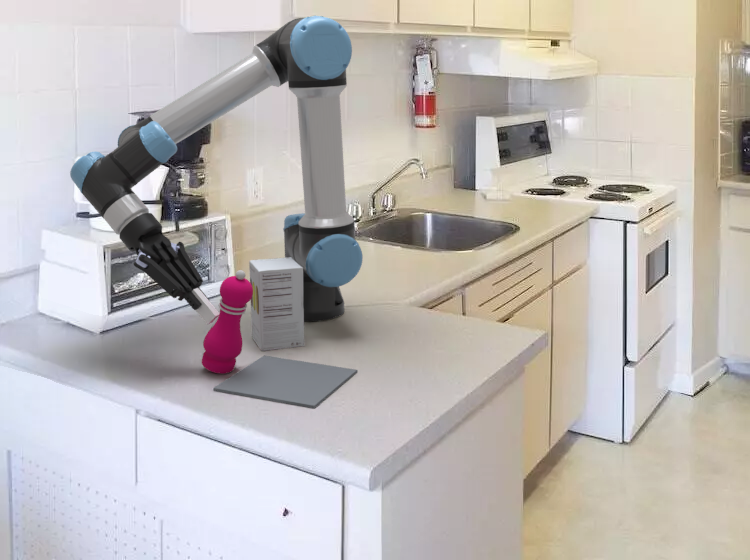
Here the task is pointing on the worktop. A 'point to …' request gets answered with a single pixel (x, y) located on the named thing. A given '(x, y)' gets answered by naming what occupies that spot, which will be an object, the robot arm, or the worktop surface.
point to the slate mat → (287, 381)
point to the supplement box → (277, 303)
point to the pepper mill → (227, 325)
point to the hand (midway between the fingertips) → (213, 319)
